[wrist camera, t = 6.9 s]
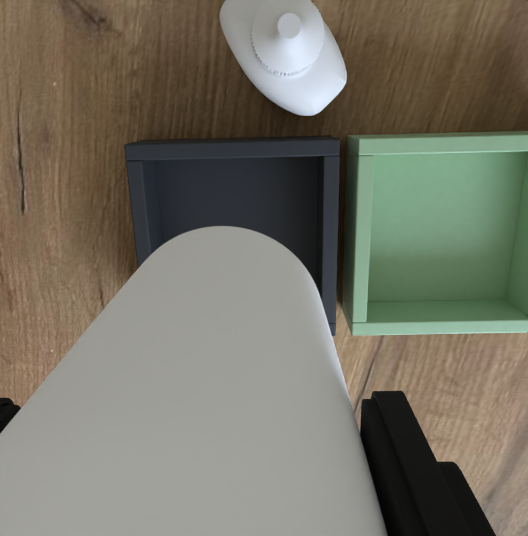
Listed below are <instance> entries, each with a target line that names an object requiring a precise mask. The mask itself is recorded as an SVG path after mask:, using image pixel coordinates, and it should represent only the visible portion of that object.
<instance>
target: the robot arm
mask: <svg viewBox="0 0 528 536" xmlns="http://www.w3.org/2000/svg"><path fill="white" fill-rule="evenodd" d="M20 409H21V408H20V406H18V405H14V403H13V401H12V400H11V399H9V398H0V433H1V432H2V431H3V430H4V429H5V427H6V426H7V425H8V424H9V422H10V421H11V420H12V419H13V418H14V416H15V415H16V414H17V413H18V412H19V410H20ZM360 436H361V440H362V444H363V447H364V451H365V454H366V458H367V461H368V465H369V469H370V472H371V476H372V479H373V483H374V487H375V490H376V494H377V498H378V501H379V505H380V509H381V512H382V516H383V520H384V523H385V527H386V531H387V534H388V536H496V535H495V533H494V531H493V529H492V527H491V526H490V524H489V522H488V520H487V518H486V516H485V514H484V513H483V511H482V509H481V507H480V505H479V503H478V501H477V500H476V498H475V496H474V494H473V492H472V490H471V488H470V487H469V485H468V483H467V481H466V479H465V477H464V475H463V474H462V472H461V470H460V469H459V467H458V466H457V464H455V463H454V462H437V461H436V458H435V456H434V454H433V452H432V450H431V448H430V446H429V444H428V442H427V440H426V438H425V436H424V434H423V432H422V430H421V427H420V425H419V423H418V421H417V419H416V417H415V415H414V413H413V411H412V409H411V407H410V405H409V403H408V401H407V398H406V396H405V394H404V393H403V392H402V391H373V393H372V396H371V399H363V400H362V406H361V427H360Z"/></svg>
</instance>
